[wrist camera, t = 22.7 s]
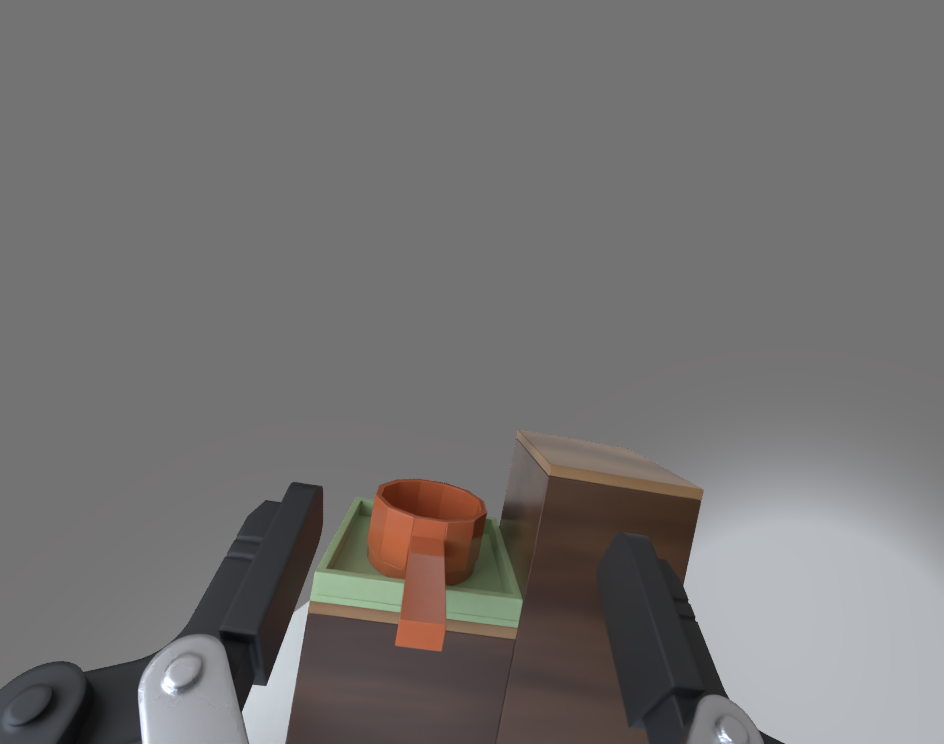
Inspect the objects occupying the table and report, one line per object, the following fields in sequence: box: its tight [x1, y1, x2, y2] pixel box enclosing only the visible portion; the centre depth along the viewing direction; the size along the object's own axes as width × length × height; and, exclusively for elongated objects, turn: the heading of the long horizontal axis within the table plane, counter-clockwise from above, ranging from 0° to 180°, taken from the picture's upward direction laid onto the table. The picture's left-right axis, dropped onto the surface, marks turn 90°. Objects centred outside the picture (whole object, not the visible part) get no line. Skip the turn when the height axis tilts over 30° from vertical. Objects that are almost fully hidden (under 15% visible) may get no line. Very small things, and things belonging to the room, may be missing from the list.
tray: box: [310, 497, 523, 628], centre depth 36 cm, size 14×14×2 cm
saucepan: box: [366, 479, 487, 651], centre depth 31 cm, size 18×9×5 cm, turn 4°
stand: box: [285, 430, 703, 744], centre depth 36 cm, size 14×25×31 cm, turn 94°
